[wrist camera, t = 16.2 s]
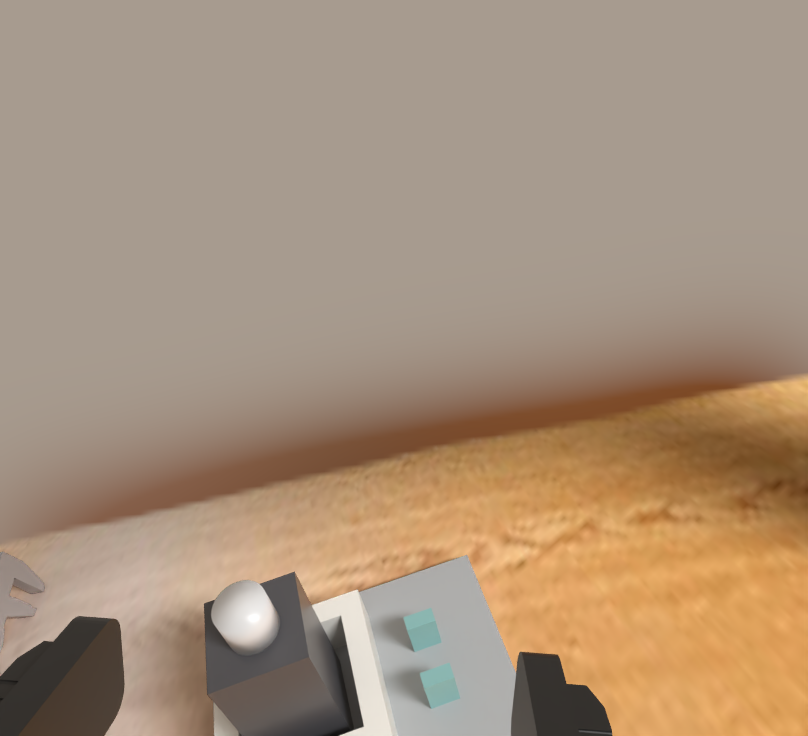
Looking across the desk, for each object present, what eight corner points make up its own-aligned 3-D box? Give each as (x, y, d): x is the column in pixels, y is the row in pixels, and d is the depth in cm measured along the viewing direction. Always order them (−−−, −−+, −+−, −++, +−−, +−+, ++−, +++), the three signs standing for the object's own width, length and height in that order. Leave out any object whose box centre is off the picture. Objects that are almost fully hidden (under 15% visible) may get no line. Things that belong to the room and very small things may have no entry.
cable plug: (339, 660, 36) (281, 547, 29) (356, 740, 33) (295, 633, 26) (264, 688, 36) (187, 580, 29) (273, 772, 32) (188, 672, 25)
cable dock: (468, 563, 41) (461, 525, 38) (551, 764, 31) (548, 731, 29) (221, 649, 39) (196, 616, 37) (231, 886, 30) (199, 863, 27)
